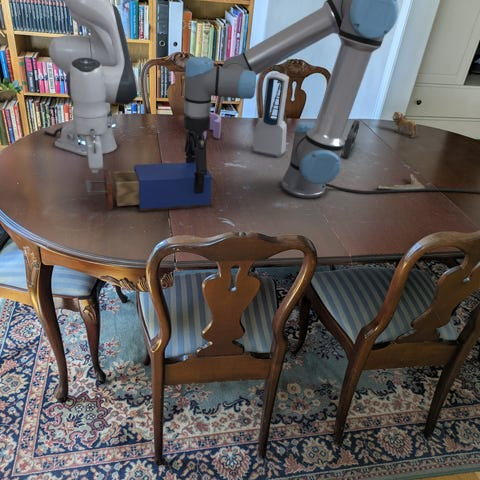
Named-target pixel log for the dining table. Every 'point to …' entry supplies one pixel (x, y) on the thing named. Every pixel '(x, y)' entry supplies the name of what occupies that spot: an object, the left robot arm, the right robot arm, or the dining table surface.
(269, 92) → the electronic device
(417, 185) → the jawbone
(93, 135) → the left robot arm
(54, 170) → the dining table surface
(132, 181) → the drawer
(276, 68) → the miniature windmill
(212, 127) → the clip
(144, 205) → the navy blue box
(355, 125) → the handheld gaming console
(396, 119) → the lion figurine
